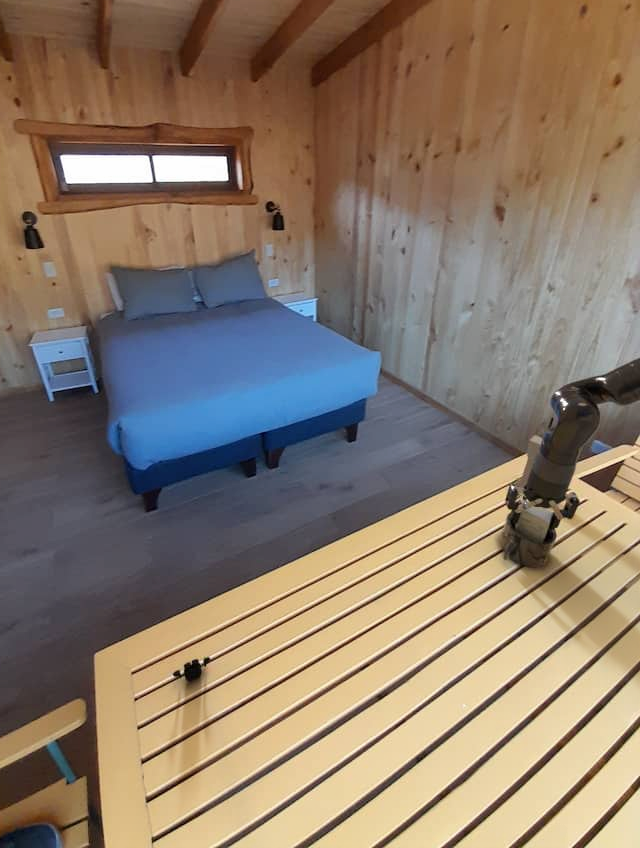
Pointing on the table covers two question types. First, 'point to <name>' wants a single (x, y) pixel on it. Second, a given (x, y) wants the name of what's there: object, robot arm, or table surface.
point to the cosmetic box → (534, 523)
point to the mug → (525, 546)
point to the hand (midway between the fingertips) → (532, 523)
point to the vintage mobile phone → (531, 457)
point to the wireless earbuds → (192, 669)
